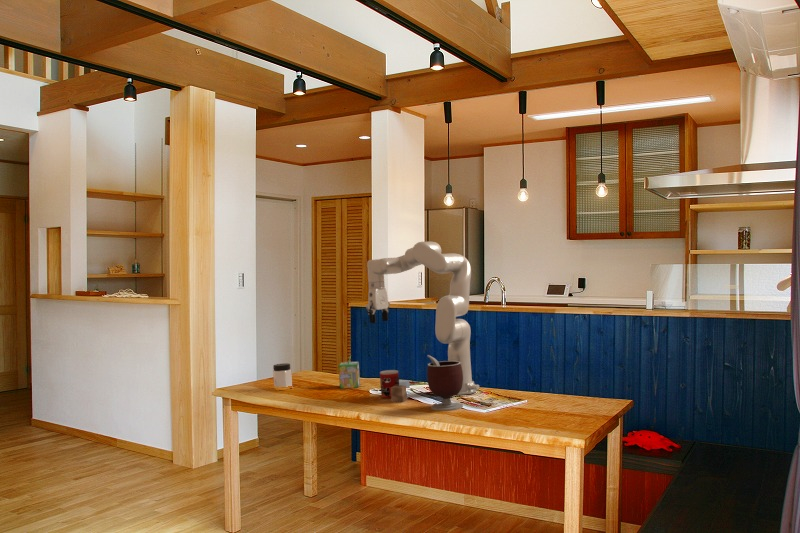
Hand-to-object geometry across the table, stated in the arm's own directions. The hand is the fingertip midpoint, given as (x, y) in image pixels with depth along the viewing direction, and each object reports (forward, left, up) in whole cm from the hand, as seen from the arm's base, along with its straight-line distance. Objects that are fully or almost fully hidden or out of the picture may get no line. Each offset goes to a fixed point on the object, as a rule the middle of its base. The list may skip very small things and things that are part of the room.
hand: (379, 321), depth 315 cm
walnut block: (-29, +23, -31) cm, 48 cm away
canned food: (-20, +18, -31) cm, 41 cm away
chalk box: (+16, +6, -31) cm, 35 cm away
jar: (+46, +22, -31) cm, 60 cm away
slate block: (-16, +7, -31) cm, 36 cm away
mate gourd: (-55, +26, -31) cm, 68 cm away
